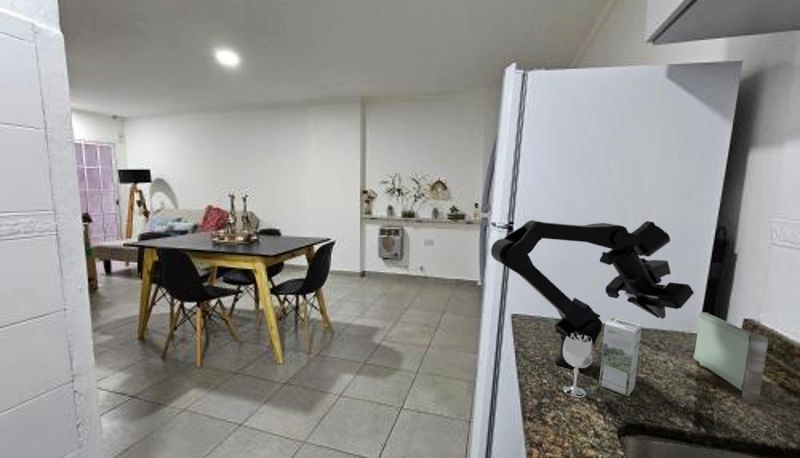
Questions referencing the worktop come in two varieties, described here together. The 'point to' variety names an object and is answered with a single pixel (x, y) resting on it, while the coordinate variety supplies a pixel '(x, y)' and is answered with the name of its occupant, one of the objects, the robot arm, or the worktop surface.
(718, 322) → the pale green flat block
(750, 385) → the frame
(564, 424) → the worktop surface
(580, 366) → the wineglass
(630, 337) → the syrup box
